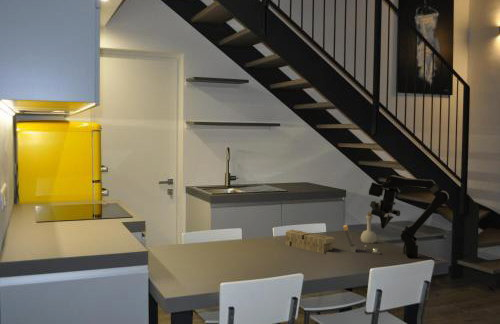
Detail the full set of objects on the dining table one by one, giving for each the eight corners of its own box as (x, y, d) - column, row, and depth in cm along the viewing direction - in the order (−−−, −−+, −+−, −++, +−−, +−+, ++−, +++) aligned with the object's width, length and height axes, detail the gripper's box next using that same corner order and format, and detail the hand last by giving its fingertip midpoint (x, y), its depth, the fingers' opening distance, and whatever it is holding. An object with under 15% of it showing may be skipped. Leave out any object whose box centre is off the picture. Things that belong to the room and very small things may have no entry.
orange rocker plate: (355, 248, 271) (346, 224, 272) (355, 250, 267) (347, 226, 267) (351, 249, 272) (343, 225, 272) (351, 251, 267) (343, 227, 267)
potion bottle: (375, 242, 297) (376, 211, 296) (377, 245, 288) (378, 213, 287) (359, 241, 298) (360, 210, 297) (361, 245, 289) (362, 213, 288)
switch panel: (382, 252, 273) (382, 244, 273) (384, 257, 260) (384, 250, 260) (343, 249, 277) (344, 242, 276) (344, 255, 264) (344, 247, 264)
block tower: (283, 246, 286) (325, 254, 265) (283, 231, 286) (325, 238, 264) (293, 244, 291) (335, 252, 270) (293, 229, 291) (335, 236, 270)
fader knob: (366, 249, 274) (366, 245, 274) (366, 250, 272) (366, 246, 271) (364, 249, 274) (364, 245, 274) (364, 249, 272) (364, 245, 272)
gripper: (385, 195, 280) (379, 223, 282) (365, 195, 267) (359, 224, 269) (403, 200, 272) (397, 229, 274) (383, 201, 259) (377, 231, 261)
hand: (382, 228), depth 270 cm, fingers closed
